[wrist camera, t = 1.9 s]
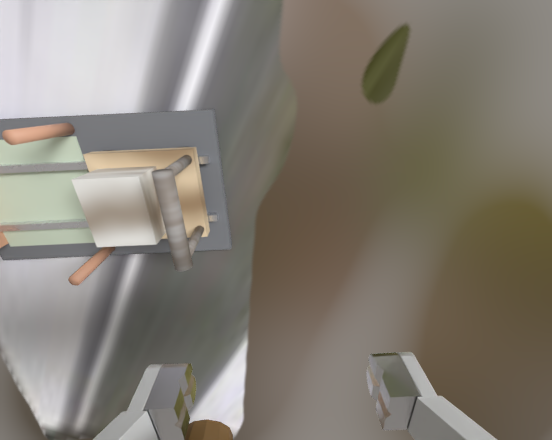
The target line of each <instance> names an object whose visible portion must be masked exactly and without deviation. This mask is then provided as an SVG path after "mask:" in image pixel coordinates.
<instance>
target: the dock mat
mask: <svg viewBox="0 0 552 440" xmlns="http://www.w3.org/2000/svg"><path fill="white" fill-rule="evenodd" d="M60 123H70V124H72V125H73V127H74V129H75V132H74V134H71V135H66V136H60V137H71V136H76V137H77V140H78V143H79V146H80V149H81V152H82V154H86V153H90V152H97V151H106V150H116V151H119V150H140V149H162V148H177V147H196V150H197V155H210V161H211V162H210V163H209V164H199V168H200V174H201V180H202V186H203V192H204V198H205V204H206V210H207V212H218V216H219V219H218V221H212V222H209V228H210V232H209V234H208V236H207V237H201V238H200V240H199V242H198V244H197V246H196V249H195V251H203V250H224V249H231V247H232V242H231V234H230V226H229V218H228V211H227V203H226V195H225V187H224V180H223V172H222V164H221V157H220V149H219V141H218V133H217V126H216V118H215V110H214V109H212V110H190V111H169V112H147V113H125V114H104V115H82V116H60V117H39V118H17V119H0V140H4V139H3V137H2V133H3V131H5V130H11V129H19V128H27V127H35V126H44V125H52V124H60ZM83 157H84V156H83ZM84 160H85V159H84ZM88 172H89V170H88ZM187 239H188V240H189V239H190V238H187ZM102 248H103V247H97V246H96V243H76V244H56V245H35V246H14V247H10V245H9V243H8V244H7V245H5V246H3V247H1V248H0V256H1V257H2V259H3V260H16V259H37V258H58V257H79V256H94V255H95V254H96V253H97V252H98V251H99V250H100V249H102ZM162 252H171V250H170V246H169V242H168V239H161V240H160V241H159V242H158V244H156V245H135V246H115V250H114V251H113V252H112V253H111V254H110V255H120V254H141V253H162Z"/></svg>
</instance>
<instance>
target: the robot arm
mask: <svg viewBox="0 0 552 440" xmlns="http://www.w3.org/2000/svg"><path fill="white" fill-rule="evenodd" d="M369 363H370V367H368V369H367V383H368V388H369V391H370V394H371V397H373V399H374V400H376V401H377V406H376V411H377V414H378V417H379V420H380V423H381V426H382V429H383V430H408V432H409V433H410V434H411V436H412V437H413V438H414V439H415V440H497V439H495V438H494V437H493V436H492V435H490V434H489V433H488V432H486V431H485V430H484V429H483V428H482V427H480V426H479V425H478V424H477V423H475V422H474V421H473V420H471V419H470V418H469V417H468V416H466V415H465V414H464V413H463V412H461V411H460V410H459V409H457V408H456V407H455V406H454V405H453V404H451V403H450V402H449V401H447V400H446V399H445V398H444V397H442V396H437V395H436V393H435V391H434V389H433V387H432V386H431V384H430V382H429V380H428V379H427V377H426V375H425V374H424V372H423V370H422V368H421V367H420V365H419V363H418V361H417V359H416V358H415V356H414V354H412V353H411V352H401V353H396V352H394V353H378V354H370V356H369ZM192 371H193V368H192V365H191V363H184V364H151V365H149V366H148V367H147V369H146V370H145V372H144V375H143V377H142V379H141V381H140V383H139V385H138V388H137V390H136V392H135V394H134V396H133V398H132V401H131V403H130V405H129V407H128V409H127V411H124V412H121V413H120V414H119V415H118V416H117V417H116V418H115V419H114V420H113V421H112V422H111V423H110V424H109V425H108V426H107V427H106V428H105V429H104V430H102V431H101V432H100V433H99V434H98V435H97V436H96V437H95V438H94V439H93V440H185V437H186V433H187V429H188V425H189V421H190V417H189V413H188V411H189V410H190V409H191V407H192V406H193V405H194V401H195V396H196V379H195V377H194V376H193V375H191V374H192Z"/></svg>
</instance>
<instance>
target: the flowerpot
mask: <svg viewBox="0 0 552 440" xmlns="http://www.w3.org/2000/svg"><path fill="white" fill-rule="evenodd" d="M185 440H233V435H232V432H231V430H230V428H229V427H228V426H226V425H224V424H223V423H221V422H217V421H212V420H201V421H194V422H192V423H191V424H189V425H188V429H187V433H186V437H185Z"/></svg>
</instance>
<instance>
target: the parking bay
mask: <svg viewBox="0 0 552 440" xmlns="http://www.w3.org/2000/svg"><path fill="white" fill-rule="evenodd" d="M74 132H75V129H74V127H73V125H72V124H70V123H60V124H52V125H44V126H35V127H27V128H19V129H11V130H5V131H3V133H2V137H3V139H4V140H0V164H22V163H43V162H65V161H84V157H83V154H82V152H81V149H80V146H79V143H78V140H77V137H76V136H71V137H60V136H66V135H71V134H74ZM86 173H89V172H88V169H84V170H63V171H42V172H20V173H0V223H2V222H23V221H44V220H65V219H86V217H85V214H84V212H83V209H82V206H81V204H80V201H79V198H78V196H77V193H76V191H75V188H74V185H73V183H72V179H74V178H77V177H79V176H81V175H84V174H86ZM8 243H9V245H10V247H14V246H35V245H56V244H76V243H95V241H94V238H93V235H92V233H91V230H90V228H89V227H86V228H65V229H44V230H23V231H2V232H0V248H1V247H3V246H5V245H7V244H8ZM114 250H115V246H114V247H103V248H102V249H100V250H99V251H98V252H97V253H96V254H95V255H94V256H93V257H92V258H90V259H89V260H88V261H87V262H86V263H85V264H84V265H83V266H82V267H80V268H79V269H78V270H77V271H76V272H75V273H74V274H73V275H71V276H70V277H69V279H68V280H69V282H70V283H71V284H72V285H79V284H80V283H81V282H82V281H83V280H85V279H86V278H87V277H88V276H89V275H90V274H91V273H92V272H93V271H94V270H95V269H96V268H97V267H98V266H99V265H100V264H101V263H102V262H103V261H104V260H105V259H106V258H107V257H108V256H109V255H110V254H111V253H112V252H113V251H114Z"/></svg>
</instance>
